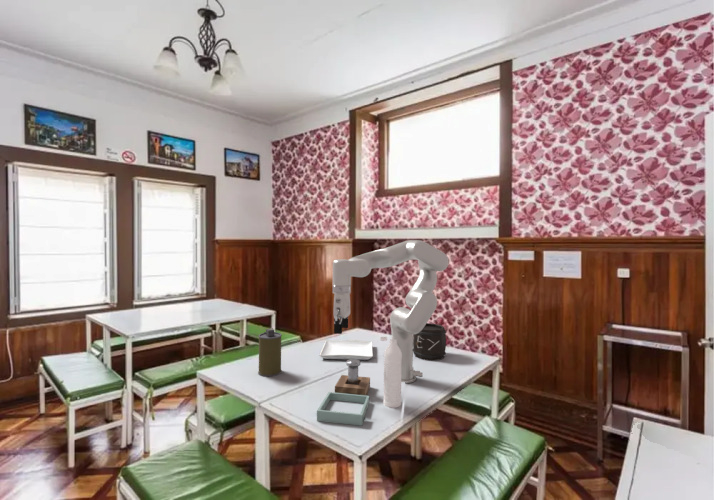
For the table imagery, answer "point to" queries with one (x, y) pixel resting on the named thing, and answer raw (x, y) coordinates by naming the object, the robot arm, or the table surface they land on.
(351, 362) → the steel pin
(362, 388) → the block
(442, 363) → the table surface
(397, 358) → the water bottle
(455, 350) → the table surface
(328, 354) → the square plate
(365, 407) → the tray
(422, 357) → the black cylinder
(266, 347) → the canister
